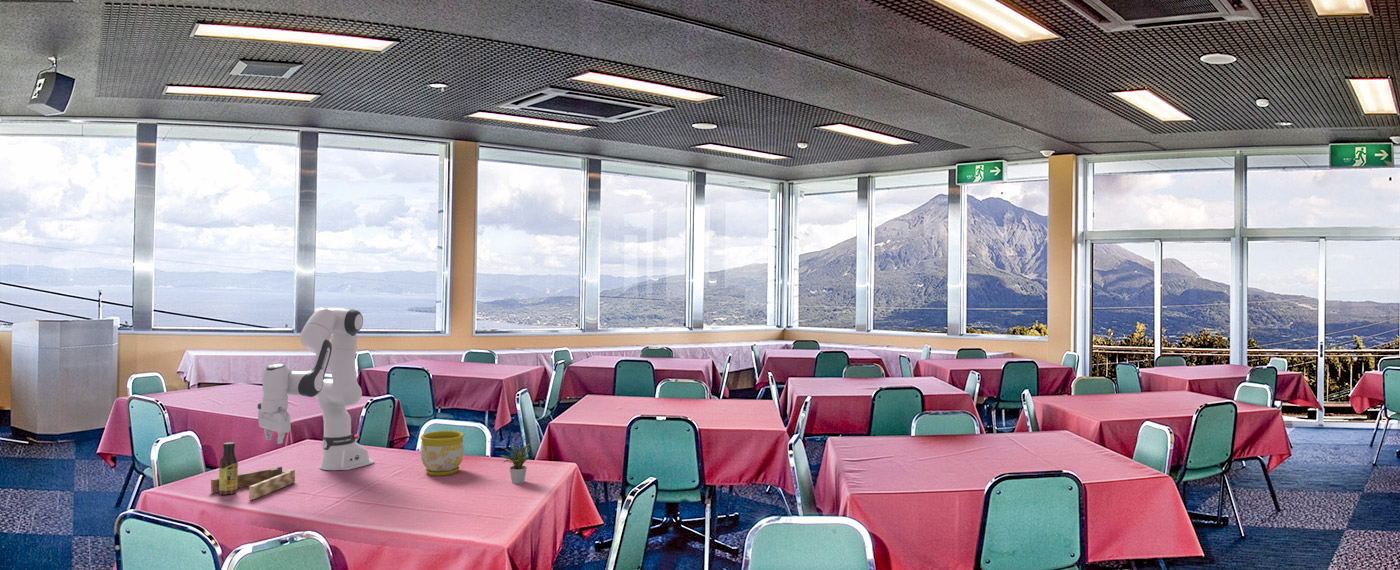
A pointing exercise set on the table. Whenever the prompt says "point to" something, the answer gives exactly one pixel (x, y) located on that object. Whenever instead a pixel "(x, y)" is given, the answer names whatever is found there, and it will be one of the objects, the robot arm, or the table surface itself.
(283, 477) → the oak jaw
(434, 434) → the flowerpot
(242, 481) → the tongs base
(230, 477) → the sauce bottle
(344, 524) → the table surface
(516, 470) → the house plant
